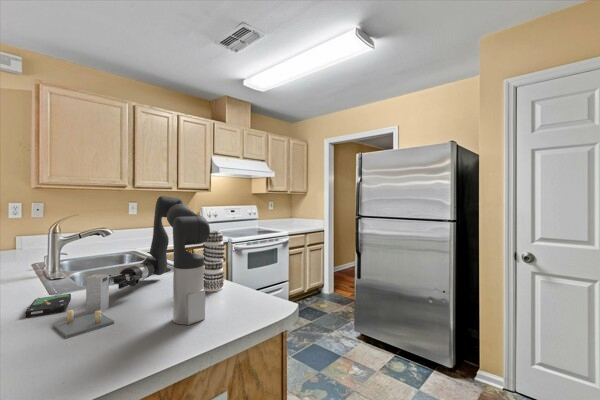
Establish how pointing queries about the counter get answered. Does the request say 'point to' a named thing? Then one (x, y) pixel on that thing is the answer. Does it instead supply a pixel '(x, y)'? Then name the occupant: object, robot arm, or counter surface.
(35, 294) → the counter surface
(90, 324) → the grey plate with pegs
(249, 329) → the counter surface
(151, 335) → the counter surface
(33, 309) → the disk drive
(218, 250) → the decorative candle
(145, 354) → the counter surface
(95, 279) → the grey upright block
